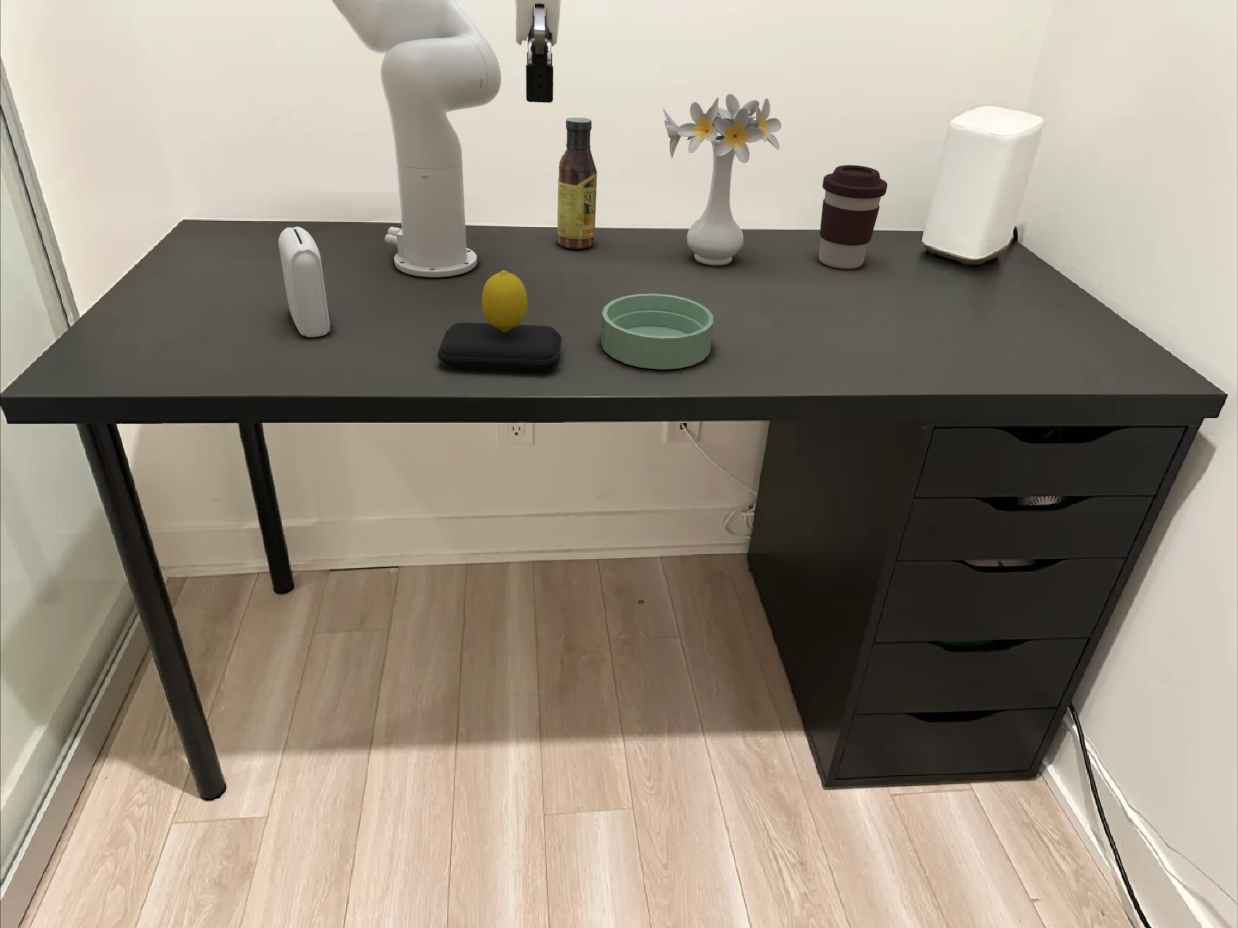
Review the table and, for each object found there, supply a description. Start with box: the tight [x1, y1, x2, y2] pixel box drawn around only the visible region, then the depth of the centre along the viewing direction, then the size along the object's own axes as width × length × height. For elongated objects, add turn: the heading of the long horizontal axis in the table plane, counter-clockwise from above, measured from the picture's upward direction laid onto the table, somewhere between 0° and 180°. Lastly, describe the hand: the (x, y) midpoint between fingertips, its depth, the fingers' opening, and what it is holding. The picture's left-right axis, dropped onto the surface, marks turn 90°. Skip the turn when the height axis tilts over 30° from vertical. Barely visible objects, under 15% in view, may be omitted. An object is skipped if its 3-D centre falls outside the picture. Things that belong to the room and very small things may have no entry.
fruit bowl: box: [600, 293, 715, 370], centre depth 115 cm, size 14×14×4 cm
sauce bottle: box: [556, 117, 598, 250], centre depth 143 cm, size 6×6×20 cm
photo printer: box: [277, 226, 331, 338], centre depth 114 cm, size 10×4×12 cm, turn 26°
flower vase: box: [662, 93, 783, 266], centre depth 138 cm, size 13×18×25 cm
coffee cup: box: [818, 164, 888, 270], centre depth 143 cm, size 10×10×15 cm
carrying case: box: [437, 321, 562, 373], centre depth 111 cm, size 11×3×15 cm
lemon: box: [481, 269, 528, 333], centre depth 108 cm, size 6×6×8 cm
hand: (539, 93), depth 111 cm, fingers open, 9 cm apart
